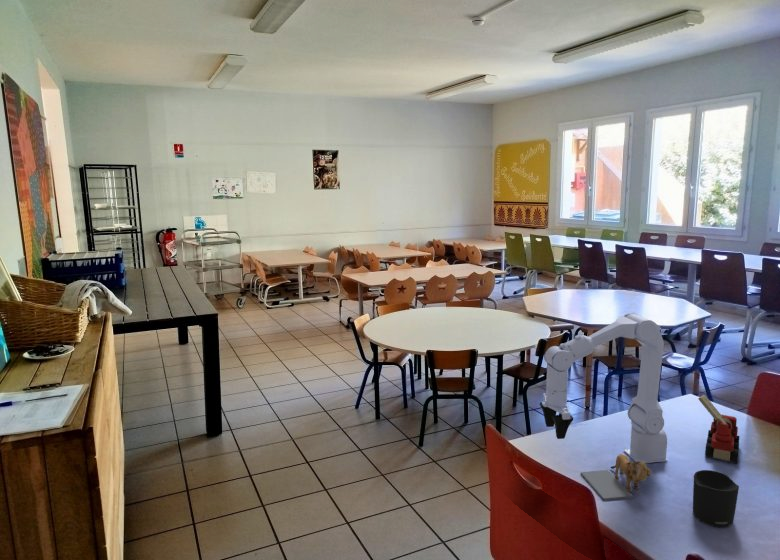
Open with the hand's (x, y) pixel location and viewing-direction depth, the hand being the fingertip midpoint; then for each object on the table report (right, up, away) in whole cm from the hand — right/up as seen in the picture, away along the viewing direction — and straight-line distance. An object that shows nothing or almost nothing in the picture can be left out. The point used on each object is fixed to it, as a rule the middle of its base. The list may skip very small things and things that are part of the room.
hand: (555, 432), depth 157 cm
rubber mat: (+11, -12, -10) cm, 19 cm away
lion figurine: (+18, -12, -9) cm, 23 cm away
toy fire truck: (+52, -8, +8) cm, 53 cm away
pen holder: (+31, -14, -24) cm, 42 cm away
